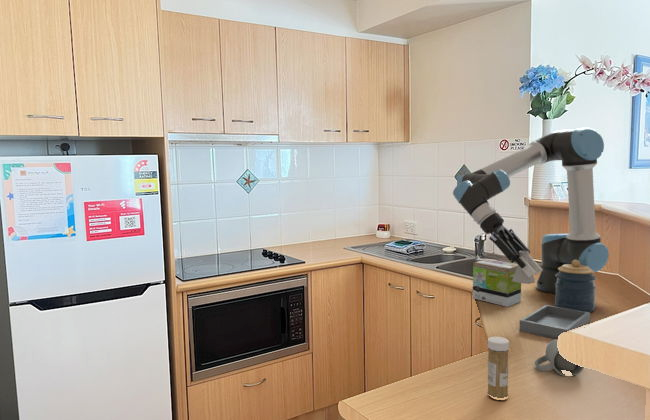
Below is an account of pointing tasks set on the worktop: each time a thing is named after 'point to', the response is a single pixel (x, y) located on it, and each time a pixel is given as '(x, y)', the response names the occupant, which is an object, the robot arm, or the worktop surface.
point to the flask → (519, 274)
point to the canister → (575, 287)
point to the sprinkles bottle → (498, 367)
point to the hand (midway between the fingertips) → (535, 273)
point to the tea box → (496, 282)
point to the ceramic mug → (556, 361)
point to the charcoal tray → (553, 321)
